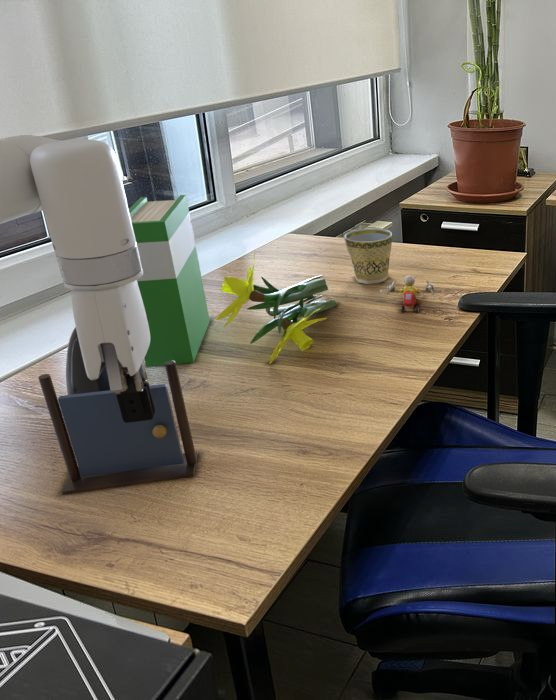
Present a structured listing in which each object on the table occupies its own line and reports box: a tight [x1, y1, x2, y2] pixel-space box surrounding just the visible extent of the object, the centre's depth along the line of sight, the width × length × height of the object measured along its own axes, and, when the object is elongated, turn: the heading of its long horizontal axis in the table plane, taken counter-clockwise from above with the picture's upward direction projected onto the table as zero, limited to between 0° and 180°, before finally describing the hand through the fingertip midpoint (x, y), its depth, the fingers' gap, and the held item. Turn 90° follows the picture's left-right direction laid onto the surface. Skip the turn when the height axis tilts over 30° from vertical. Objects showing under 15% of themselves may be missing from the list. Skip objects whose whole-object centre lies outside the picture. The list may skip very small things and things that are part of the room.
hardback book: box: [128, 194, 211, 368], centre depth 118 cm, size 18×7×24 cm, turn 10°
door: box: [57, 383, 184, 477], centre depth 85 cm, size 12×2×11 cm, turn 103°
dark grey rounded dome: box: [65, 326, 148, 395], centre depth 98 cm, size 10×10×15 cm
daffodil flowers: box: [214, 251, 337, 365], centre depth 121 cm, size 17×15×35 cm
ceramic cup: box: [343, 227, 393, 285], centre depth 151 cm, size 13×10×10 cm
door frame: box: [38, 360, 199, 496], centre depth 85 cm, size 15×5×15 cm, turn 103°
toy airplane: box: [379, 275, 442, 314], centre depth 137 cm, size 9×9×6 cm
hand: (140, 417), depth 81 cm, fingers closed
